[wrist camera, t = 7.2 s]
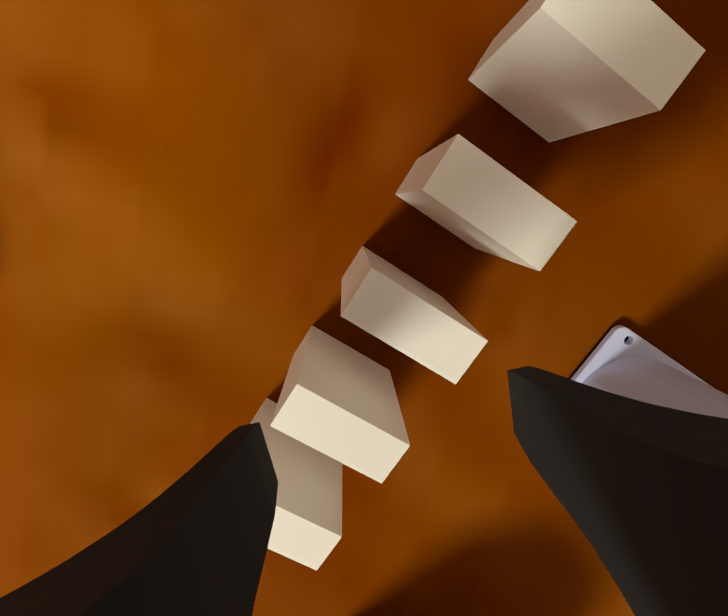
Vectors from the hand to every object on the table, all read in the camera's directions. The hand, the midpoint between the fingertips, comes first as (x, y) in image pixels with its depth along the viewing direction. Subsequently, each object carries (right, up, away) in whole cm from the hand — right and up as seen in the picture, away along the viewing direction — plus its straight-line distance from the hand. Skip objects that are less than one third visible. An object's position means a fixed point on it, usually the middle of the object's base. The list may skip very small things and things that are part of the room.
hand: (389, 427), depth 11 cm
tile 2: (-2, 0, +10) cm, 11 cm away
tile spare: (+7, +14, +7) cm, 17 cm away
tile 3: (+1, +4, +9) cm, 11 cm away
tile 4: (+3, +9, +9) cm, 13 cm away
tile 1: (-5, -4, +11) cm, 13 cm away
